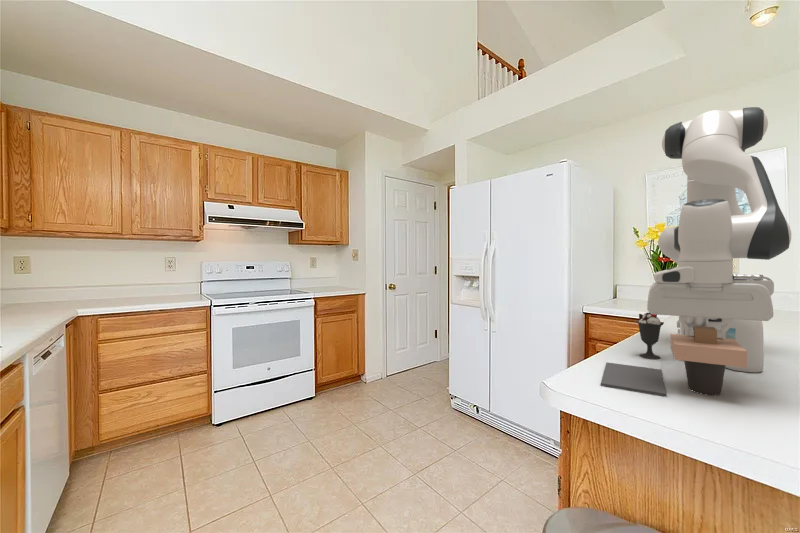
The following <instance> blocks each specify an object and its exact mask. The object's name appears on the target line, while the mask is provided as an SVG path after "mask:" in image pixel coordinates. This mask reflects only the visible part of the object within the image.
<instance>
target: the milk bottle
mask: <svg viewBox="0 0 800 533" xmlns="http://www.w3.org/2000/svg"><path fill="white" fill-rule="evenodd" d="M723 325H724V323H723V322H722V323H721V328H722V326H723ZM726 338H727V339H734V340H735V341H736V342H737V343H739V344H740V345H741V346H742V347H743V348H744V349H745V350H746V351H747V368H744V367H735V366H725V369H726V368H727V370H729V369H730V370H732V371H736V372H743V373H751V374H754V373H757V374H758V373H762V372H763V371H764V361H765V360H764V351H765V350H764V349H765V348H764V343H765V342H764V324H763V321H756V320H739V319H733V325H732V326H731V327H730V328H729V329H728V331H727V332H726Z"/></svg>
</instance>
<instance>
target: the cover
mask: <svg viewBox="0 0 800 533" xmlns="http://www.w3.org/2000/svg"><path fill="white" fill-rule="evenodd" d="M693 328H694V330H695V333H694V334H695V337H686V336H685V335H678V334H677V333H670V335H669V336H670V338H669V339H670V350H671V353H672V355H673V359H674V360H676V361H683V362H685V361H692V362H700V363H709V364H718V365H726V366H735V367H744V368H747V351H746V350H745V349H744V348H743V347H742V346H741V345H740V344H739V343H737V342H736V341H735V340H734V339H727V338H725V340H720V339H717V330H716V329H715V328H714V327H705V326H693Z"/></svg>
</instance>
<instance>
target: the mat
mask: <svg viewBox="0 0 800 533" xmlns="http://www.w3.org/2000/svg"><path fill="white" fill-rule="evenodd" d="M600 386H601V387H605V388H612V389H619V390H625V391H631V392H636V393H642V394H648V395H653V396H660V397H667V390H666V386H665V381H664V375H663V370H662V369H661V368H653V367H646V366H645V367H644V366H638V365H637V366H636V365H629V364H624V363H617V362H616V363H614V362H606V363H605V366H604V369H603V374H602V378H601V382H600Z"/></svg>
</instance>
